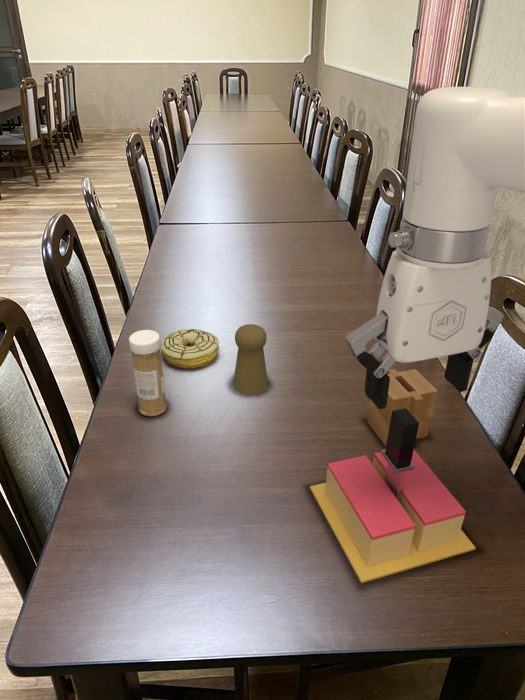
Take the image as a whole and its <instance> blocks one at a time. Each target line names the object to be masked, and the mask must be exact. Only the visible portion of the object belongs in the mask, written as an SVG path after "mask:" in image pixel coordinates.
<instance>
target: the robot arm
mask: <svg viewBox="0 0 525 700" xmlns="http://www.w3.org/2000/svg"><path fill="white" fill-rule="evenodd" d="M499 188H500V189H506V190H510V191H515V192H519V193H523V194H525V96H511V95H510V94H509V93H508V92H506V91H504V90H501V89H497V88H491V87H484V86H483V87H482V86H481V87H480V86H445V87H438V88H433V89H431V90H428V91H426V93H424V94H423V95H422V96H421V98H420V99H419V101H418V103H417V106H416V110H415V115H414V121H413V130H412V138H411V146H410V153H409V161H408V170H407V177H406V186H405V194H404V201H403V209H402V216H401V217H402V218H401V220H400V224H399V229H398V230H397V231H393V232H390V233H389V235H388V244H389V246H390V248H397V250H393V251H392V253H391V256H390V259H389V261H388V264H387V268H386V270H385V273H384V276H383V281H382V284H381V288H380V292H379V296H378V297H379V298H378V302H377V308H376V314H375V316H374V317H372V318H371V319H370V320H367V321H366V322H364V323H363V324H361V325H360V326H358V327H357V328H355V329H353V330H352V331H351V332H349V333H347V334H346V336H345V341H346V343H347V346H348V347H349V349H350V351H351V353H352V356H353V357H354V358H355V359H356V360H357V362H359V363H360V365H361V366H362V367H364V368H365V369H366V371H365V372H366V373H365V380H364V393H365V396H366V397H367V399H369V400H370V399H371V400H372V402H373V403H374V404H375V405H376V406H377V408H378V409H384V408H385V407H386V405H387V398H388V391H389V383H390V377H389V376H388V375H387V372H388V370H390V369H392V367H393V366H394V365H395V364H396V362H398V363H401V364H409V363H416V362H420V361H426V360H427V361H428V360H432V359H437V358H441V357H442V358H443V357H447V356H448V357H447V360H446V364H445V365H446V366H445V370H444V374H443V375H444V379H445V380H446V381H447V382H448V383H449V384H450V385H452V386H453V387H454V388H455V389H456V390H457V391H459V392H461V393H463V392H466V391H468V387H469V382H470V377H471V375H472V374H471V373H472V369H473V365H474V360H476V359H478V358H480V357H481V355H482V349H483V348H484V347H485V346H486V345H487V344H488V343H489V342H490V341H491V340H492V338H493V337H494V332H495V331H496V330H497V328H498V327H499V325H500V324H501V322H502V321H503V320H504V317H505V315H504V313H503V312H501V311H499V310H498V309H496V307H495V308H494V307H492V306H490V298H491V289H492V259H491V253H490V252H488V251H487V250H486V247H487V241H488V238H489V237H488V236H489V233H490V228H491V222H492V216H493V213H494V207H495V203H496V198H497V194H498V189H499ZM372 340H374V341H375V343H374V344H373V345H372V346H371V347H370V349H369V350H368V349H367V345H368V343H369V342H370V341H372ZM385 351H386V354H384V353H385ZM383 354H384V356H382V355H383ZM381 356H382V358H381V359H380V360H379V358H380V357H381Z"/></svg>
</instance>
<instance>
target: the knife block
mask: <svg viewBox="0 0 525 700" xmlns="http://www.w3.org/2000/svg"><path fill="white" fill-rule="evenodd" d="M386 374H387V375H388V376H389V377H390V383H389V391H388V398H387V405H386V407H385V408H384V409H378V408H377V406H376V405H375V404H374V403H373V402H372V400H371V399H369V403H368V410H367V417H366V423H367V424H368V425H369V426H370V428H371V429H372V430H373V432H374V433H375V434H376V436H377V437H378V438H379V440H380V441H381V442H382V443H383V445H384V446H385V447H386V444H387V438H388V432H389V426H390V421H391V415H392V411H394V410H399V409H404V408H406V409H407V410H408V411H409V412H410V413H411V414H412V415H413V416H414V418H415V419H416V420H417V421H418V422H419V427H418V432H417V436H416V440H418V439H423V438H428V437H429V432H430V427H431V425H432V418H433V414H434V409H435V406H436V405H435V404H436V400H437V396H438V389H437V388H435V386H433V385H432V384H431V383H430V382H429V381H428V380H427V379H426V378H425V377H424V376H423V375H422V374H421V373H420V372H419V371H418V370H417V369H416V368H414V369H409V370H403V371H402V370H401V371H397V370H396V369H395V368H390V369H389V370H388V372H387V373H386Z"/></svg>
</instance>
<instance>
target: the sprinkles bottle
mask: <svg viewBox="0 0 525 700" xmlns="http://www.w3.org/2000/svg"><path fill="white" fill-rule="evenodd" d="M161 343H162V340H161V335H160V334H159V333H158V332H157V331H155V330H152V329H142V330H137V331H135V332H133V333H131V334H130V336H129V337H128V345H129V350H130V353H131V359H132V369H133V375H134V376H133V377H134V383H135V391H136V395H137V403H138V412H139V413H140V414H141V415H143V416H145V417H156V416H159V415H162V414H163V413H165V412H166V410H167V408H168V403H167V401H166V386H165V385H166V384H165V378H164V377H165V376H164V371H163V363H162V352H161Z"/></svg>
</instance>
